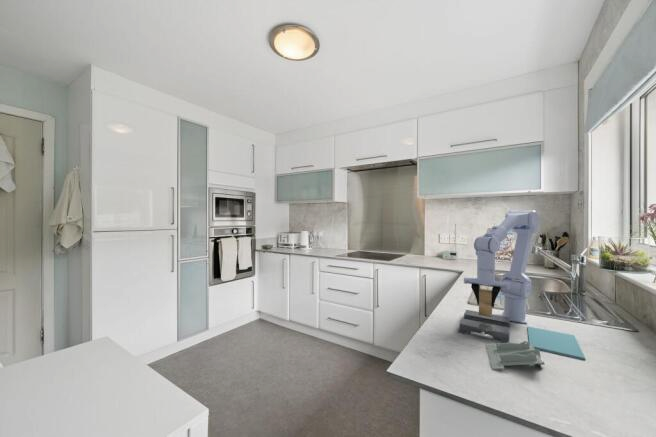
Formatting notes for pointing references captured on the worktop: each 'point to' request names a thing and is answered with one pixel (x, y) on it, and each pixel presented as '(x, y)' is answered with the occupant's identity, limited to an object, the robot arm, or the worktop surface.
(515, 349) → the metal bracket
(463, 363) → the worktop surface
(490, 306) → the oak peg
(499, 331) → the vise
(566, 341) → the teal mat
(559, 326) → the worktop surface
